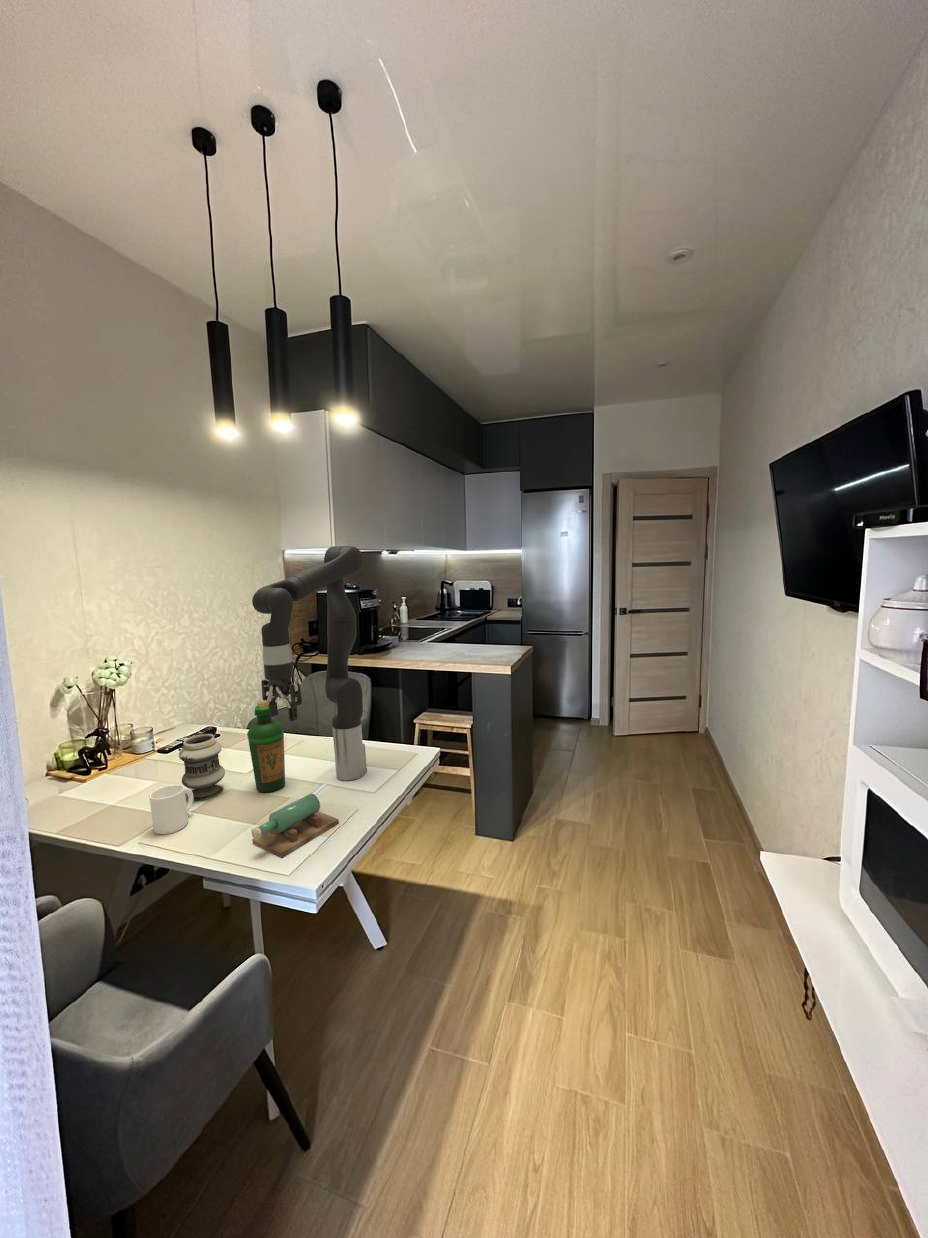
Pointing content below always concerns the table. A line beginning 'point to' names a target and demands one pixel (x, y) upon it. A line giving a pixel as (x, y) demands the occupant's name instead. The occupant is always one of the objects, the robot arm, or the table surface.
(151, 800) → the mug
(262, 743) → the bottle
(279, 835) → the bottle rest
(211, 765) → the apothecary jar
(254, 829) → the bottle
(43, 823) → the table surface
